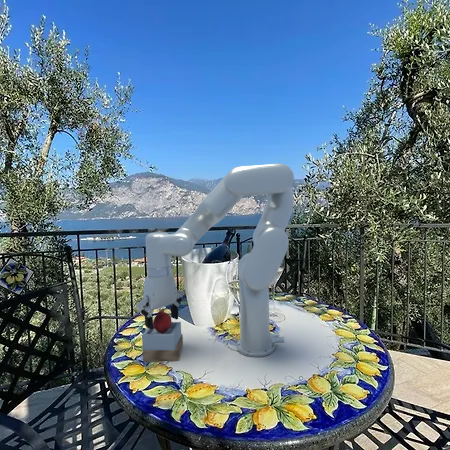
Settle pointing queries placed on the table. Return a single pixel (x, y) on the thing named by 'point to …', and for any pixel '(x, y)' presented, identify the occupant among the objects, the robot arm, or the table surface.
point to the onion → (162, 322)
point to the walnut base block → (163, 354)
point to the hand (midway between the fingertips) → (162, 323)
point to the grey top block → (162, 338)
